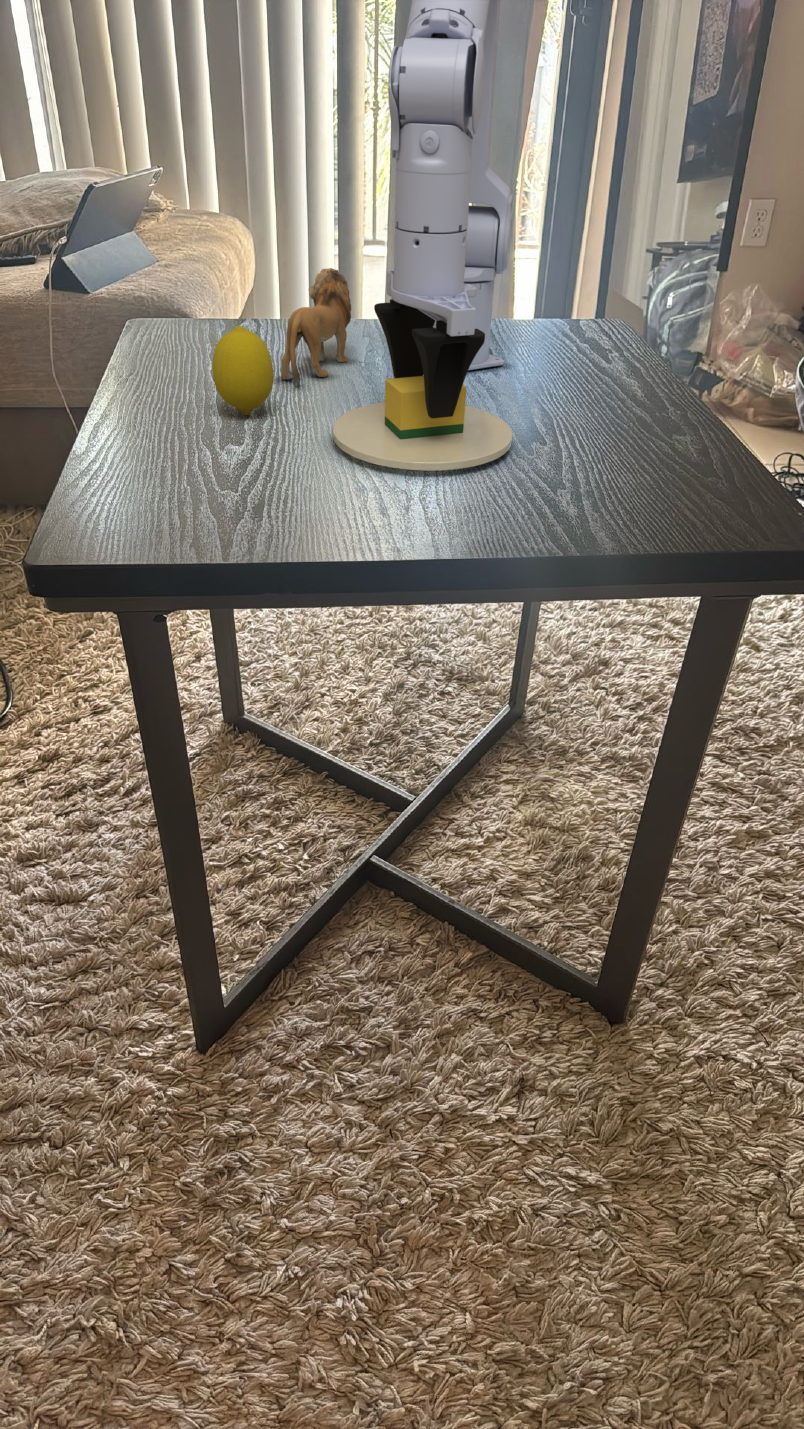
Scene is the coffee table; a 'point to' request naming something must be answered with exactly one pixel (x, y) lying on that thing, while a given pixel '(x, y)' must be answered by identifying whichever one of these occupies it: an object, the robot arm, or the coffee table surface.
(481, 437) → the plate
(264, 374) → the lemon
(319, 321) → the lion figurine
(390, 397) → the sponge
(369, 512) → the coffee table surface
